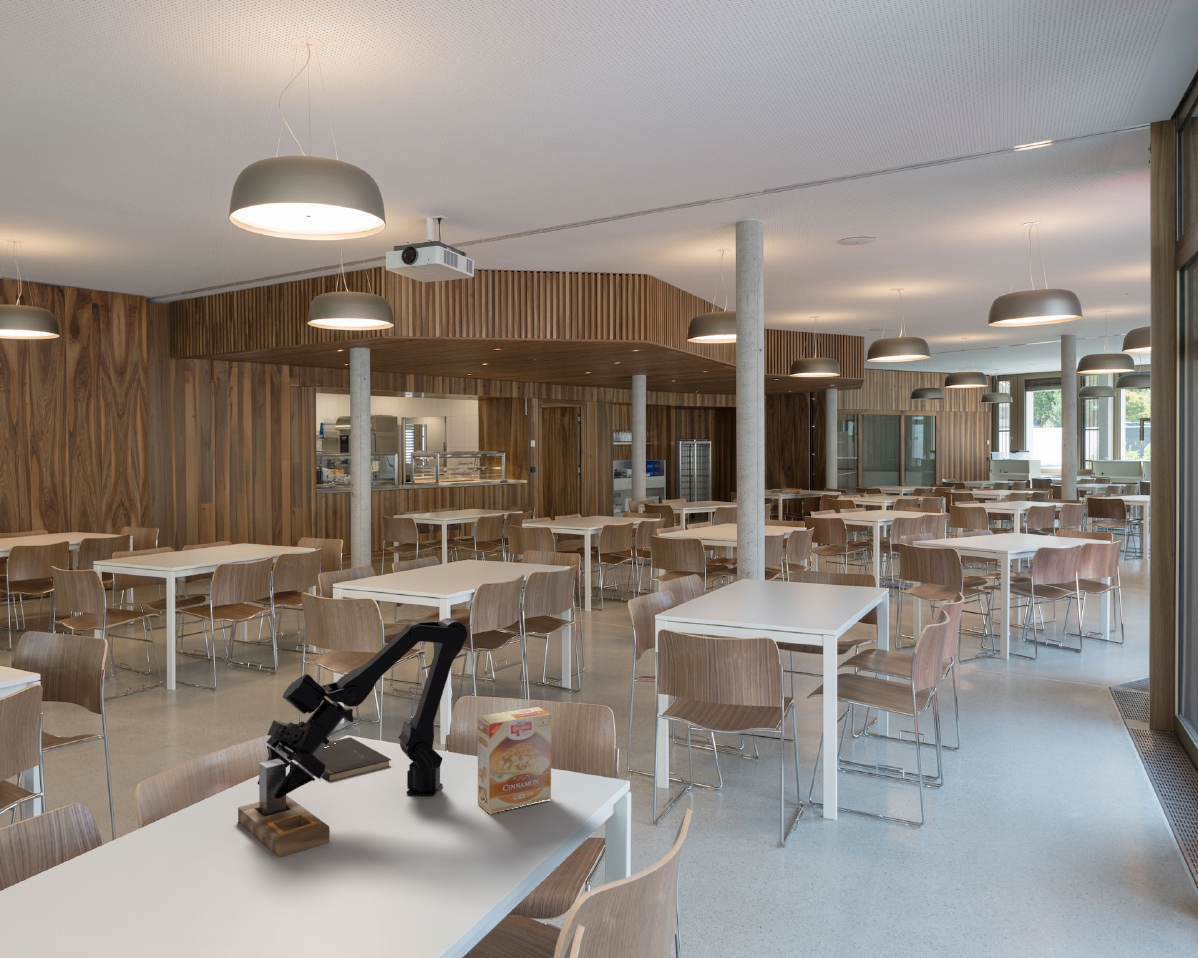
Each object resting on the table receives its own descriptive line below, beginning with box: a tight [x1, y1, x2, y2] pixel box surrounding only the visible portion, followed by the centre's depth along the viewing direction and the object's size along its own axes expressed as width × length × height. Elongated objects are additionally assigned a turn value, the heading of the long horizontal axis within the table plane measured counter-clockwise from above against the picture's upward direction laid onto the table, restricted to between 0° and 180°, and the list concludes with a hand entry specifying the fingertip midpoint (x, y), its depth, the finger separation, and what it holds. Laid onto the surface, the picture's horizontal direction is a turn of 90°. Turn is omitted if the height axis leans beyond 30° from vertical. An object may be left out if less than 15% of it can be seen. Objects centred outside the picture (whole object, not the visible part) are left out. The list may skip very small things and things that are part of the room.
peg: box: [258, 759, 287, 817], centre depth 173 cm, size 4×4×12 cm
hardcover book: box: [314, 736, 392, 782], centre depth 211 cm, size 16×23×2 cm
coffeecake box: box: [477, 706, 552, 815], centre depth 184 cm, size 15×7×20 cm, turn 120°
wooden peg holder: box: [237, 794, 330, 858], centre depth 170 cm, size 22×10×3 cm, turn 42°
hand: (267, 791), depth 173 cm, fingers open, 9 cm apart
